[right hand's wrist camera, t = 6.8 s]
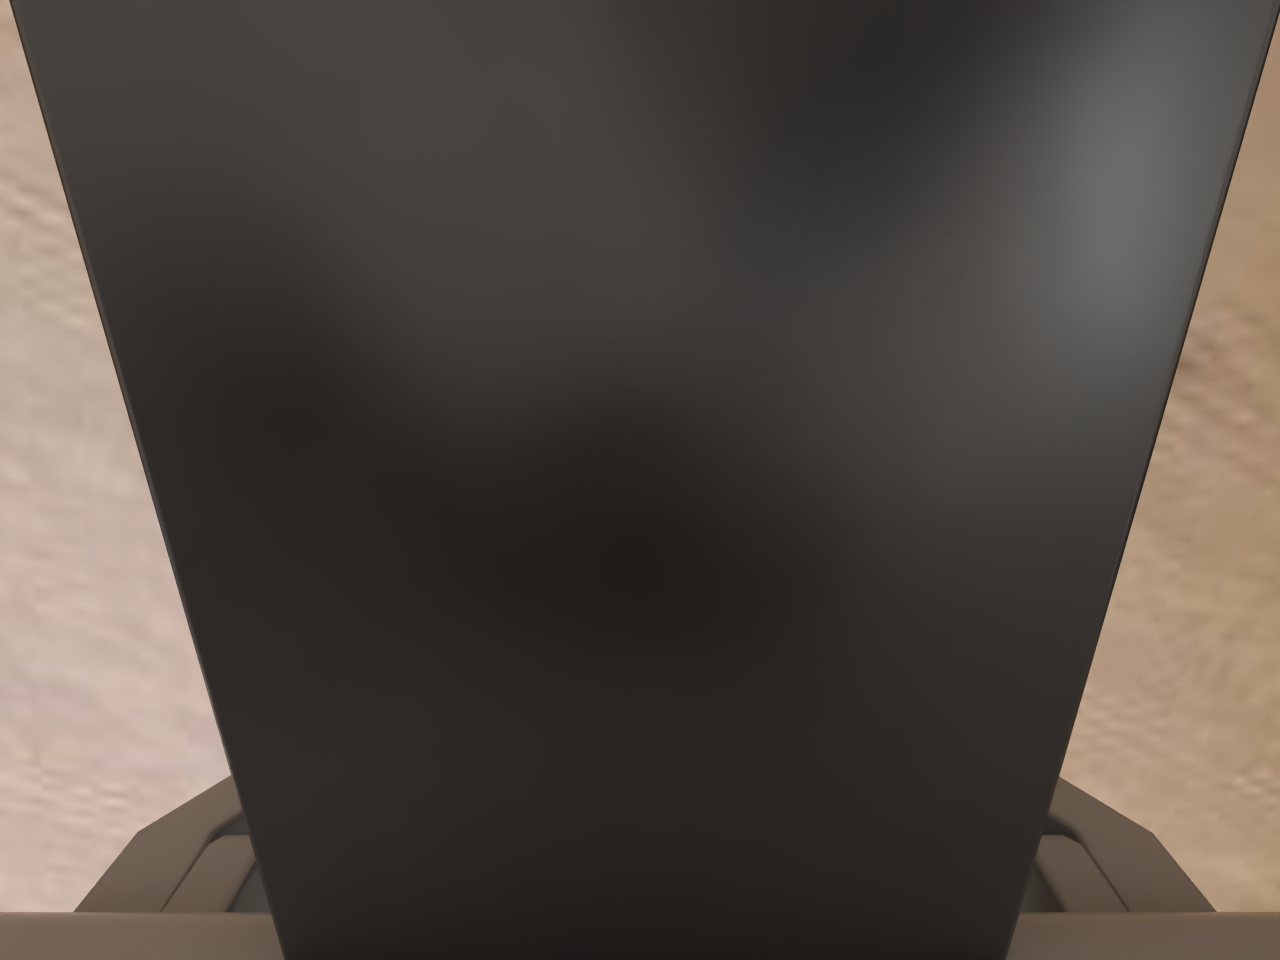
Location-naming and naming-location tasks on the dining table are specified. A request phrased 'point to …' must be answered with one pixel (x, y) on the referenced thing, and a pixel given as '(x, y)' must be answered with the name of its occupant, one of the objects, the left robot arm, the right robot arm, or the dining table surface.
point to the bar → (645, 435)
